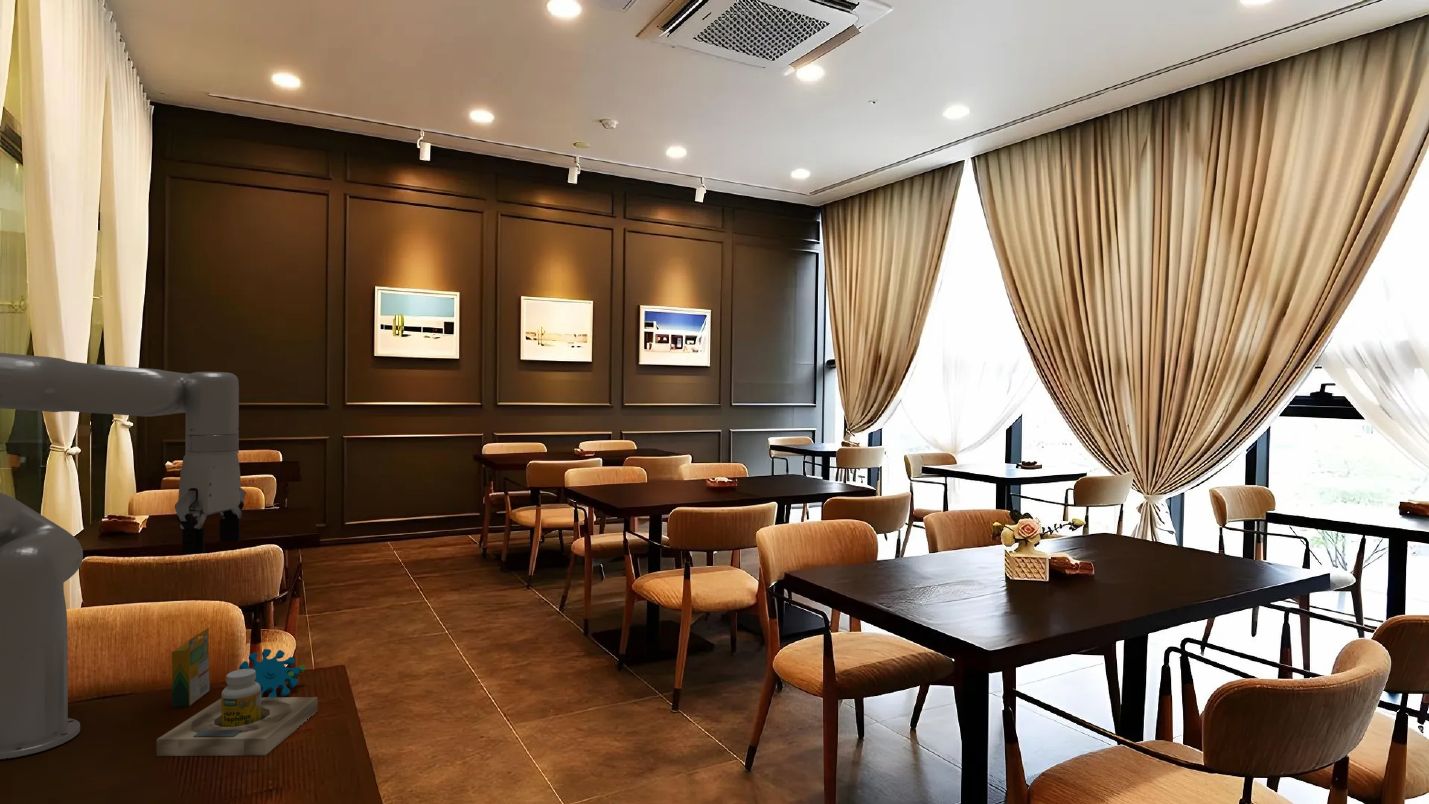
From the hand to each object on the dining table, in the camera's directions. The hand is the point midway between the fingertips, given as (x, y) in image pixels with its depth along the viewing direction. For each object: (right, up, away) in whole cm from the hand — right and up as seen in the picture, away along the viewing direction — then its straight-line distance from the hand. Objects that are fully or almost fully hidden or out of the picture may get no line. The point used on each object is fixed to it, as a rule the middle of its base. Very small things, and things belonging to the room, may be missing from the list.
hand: (212, 547), depth 130 cm
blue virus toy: (+5, -29, +9) cm, 30 cm away
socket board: (+9, -28, -7) cm, 31 cm away
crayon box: (-8, -29, +7) cm, 30 cm away
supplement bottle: (+9, -29, -7) cm, 31 cm away
